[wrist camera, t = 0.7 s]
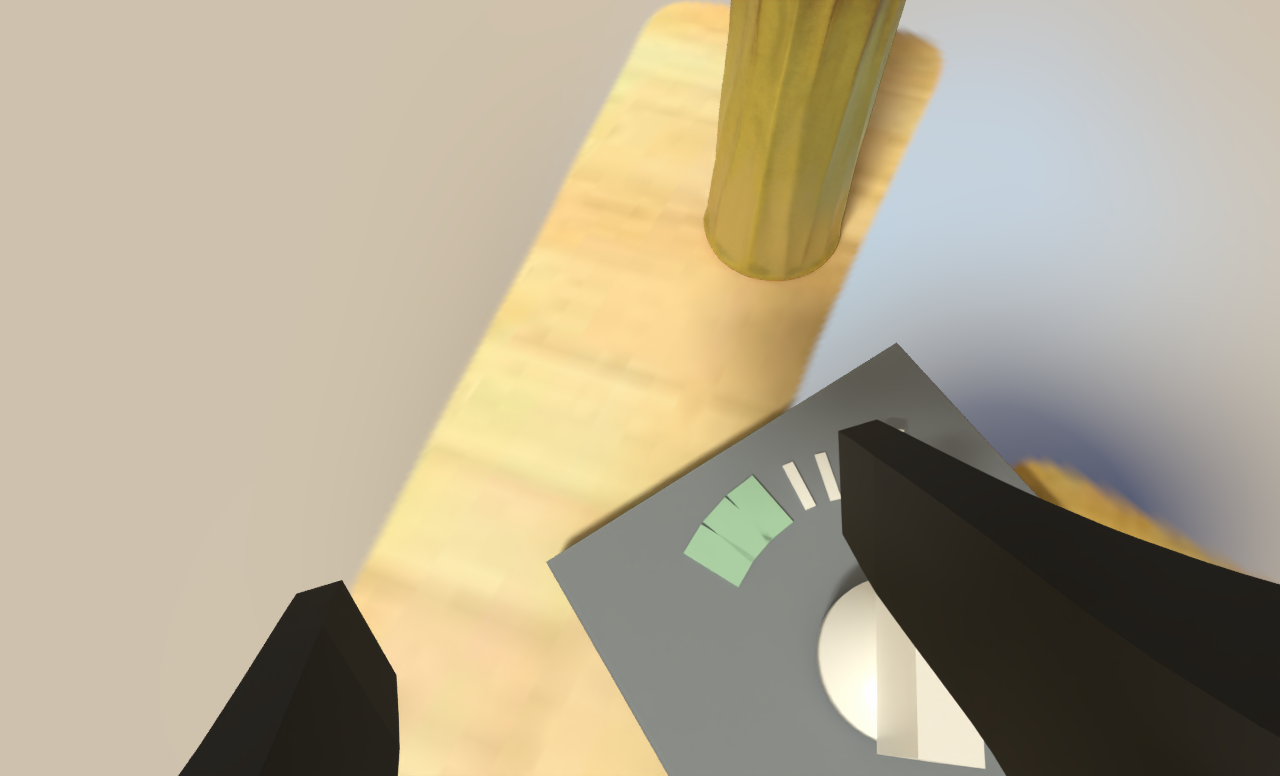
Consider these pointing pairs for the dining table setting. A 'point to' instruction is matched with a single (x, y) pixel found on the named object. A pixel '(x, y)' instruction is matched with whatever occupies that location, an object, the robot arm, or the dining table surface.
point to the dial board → (755, 587)
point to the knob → (890, 685)
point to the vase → (793, 128)
